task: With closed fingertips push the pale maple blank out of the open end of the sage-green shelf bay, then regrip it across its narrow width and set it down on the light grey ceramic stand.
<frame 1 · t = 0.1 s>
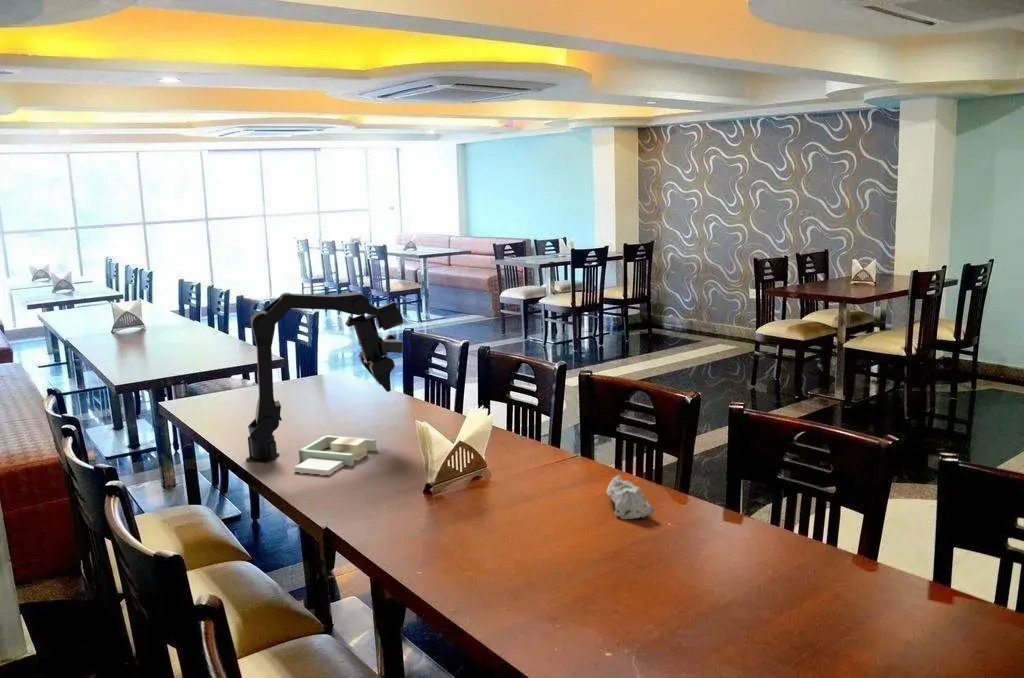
hand: (385, 387, 229), 15 cm above the table, tool pointing down, fingers open, 9 cm apart
rock: (626, 510, 179), on the table
stand: (319, 469, 210), on the table
shelf bay: (339, 455, 220), on the table
blank: (349, 457, 220), on the table
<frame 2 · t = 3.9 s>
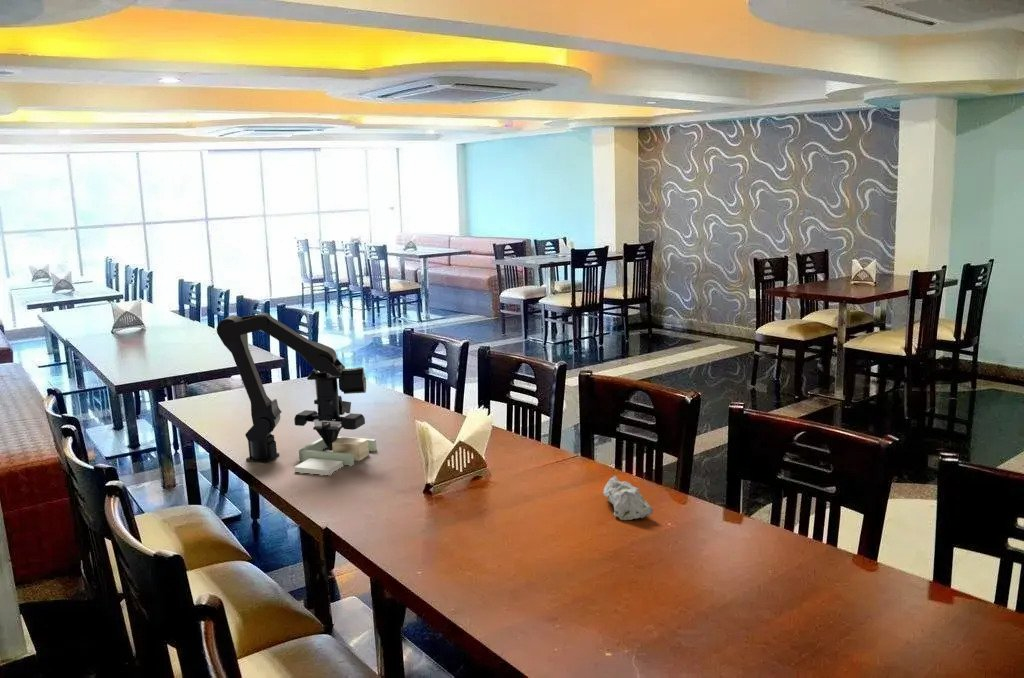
hand: (331, 450, 221), 1 cm above the table, tool pointing down, fingers closed
blank: (351, 457, 219), on the table, touching gripper
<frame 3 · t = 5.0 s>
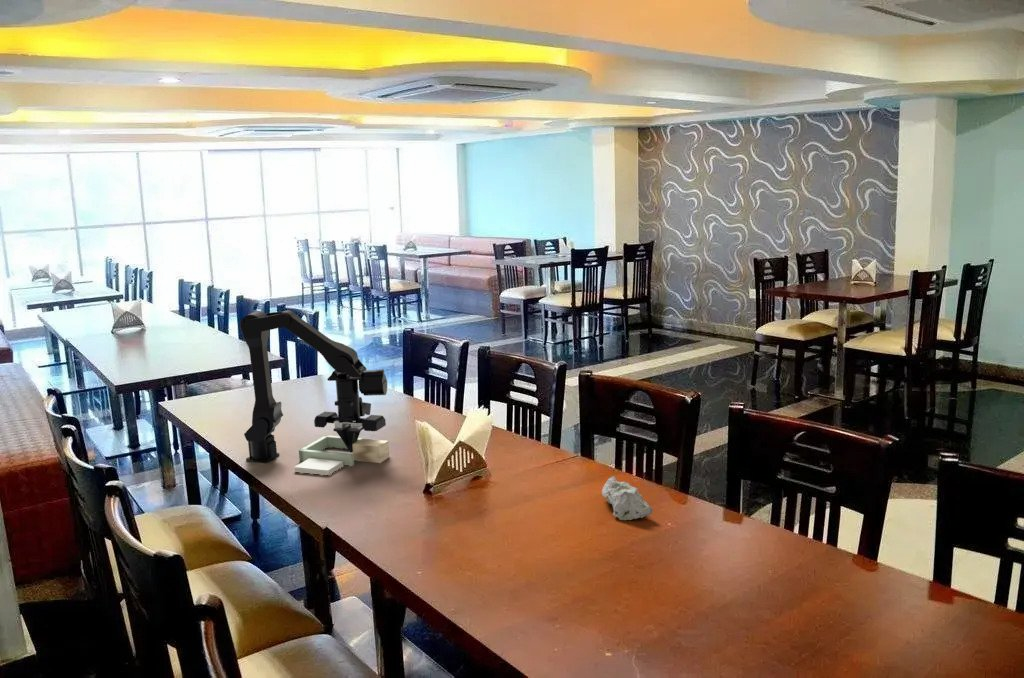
hand: (352, 451, 219), 1 cm above the table, tool pointing down, fingers closed
blank: (371, 458, 217), on the table, touching gripper
everything else where it was.
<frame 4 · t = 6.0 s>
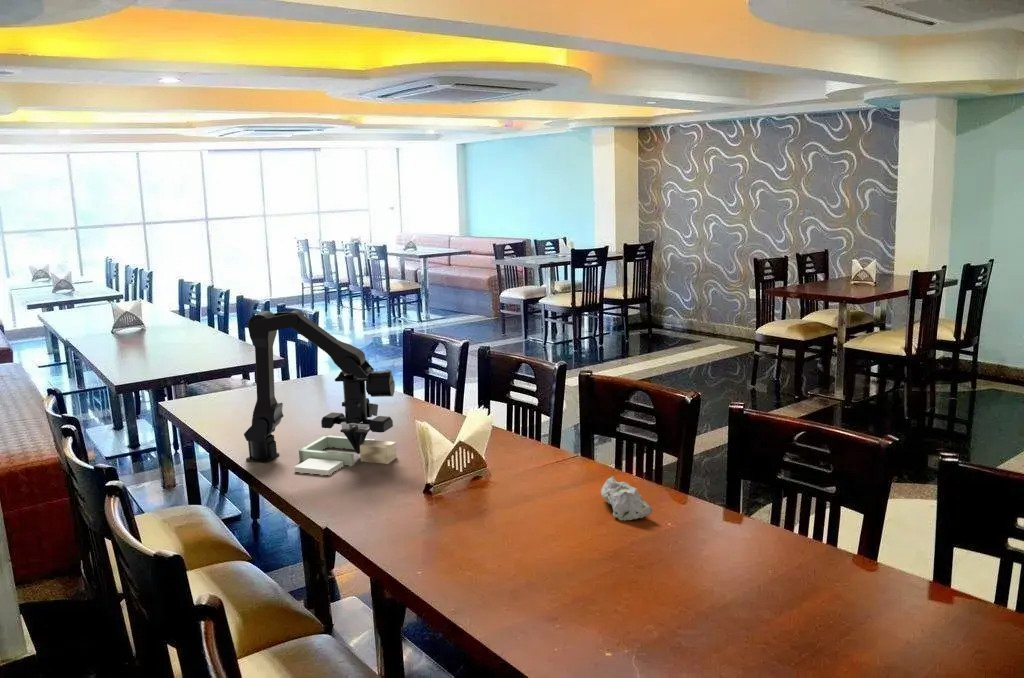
hand: (358, 453, 218), 1 cm above the table, tool pointing down, fingers closed
blank: (378, 460, 217), on the table
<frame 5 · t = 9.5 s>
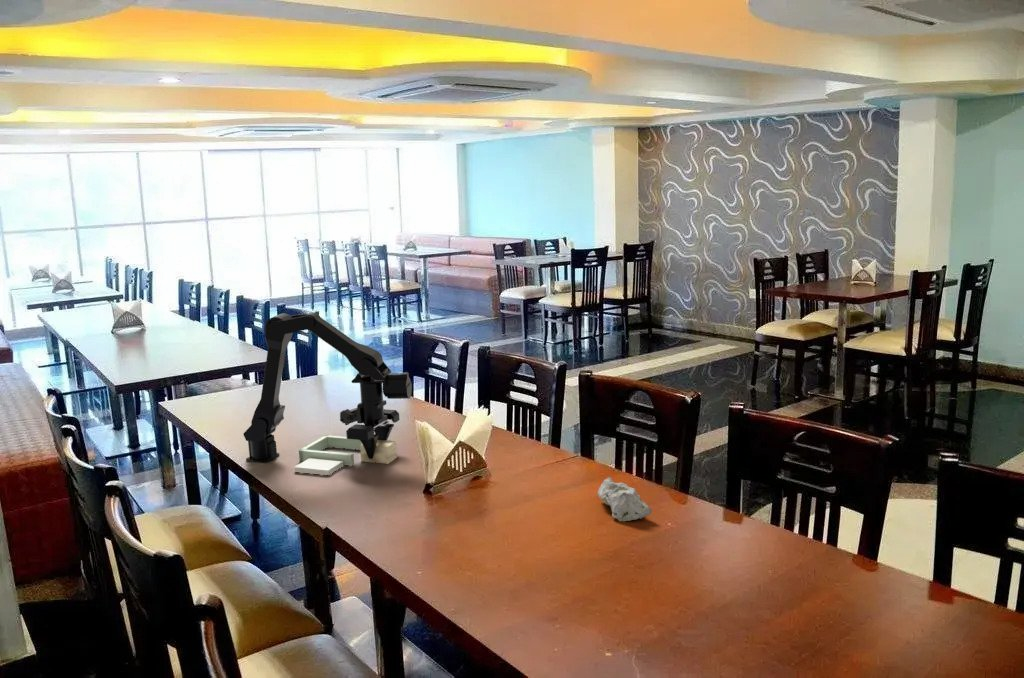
hand: (375, 455, 217), 1 cm above the table, tool pointing down, fingers closed on blank, 5 cm apart
blank: (379, 459, 217), on the table, touching gripper
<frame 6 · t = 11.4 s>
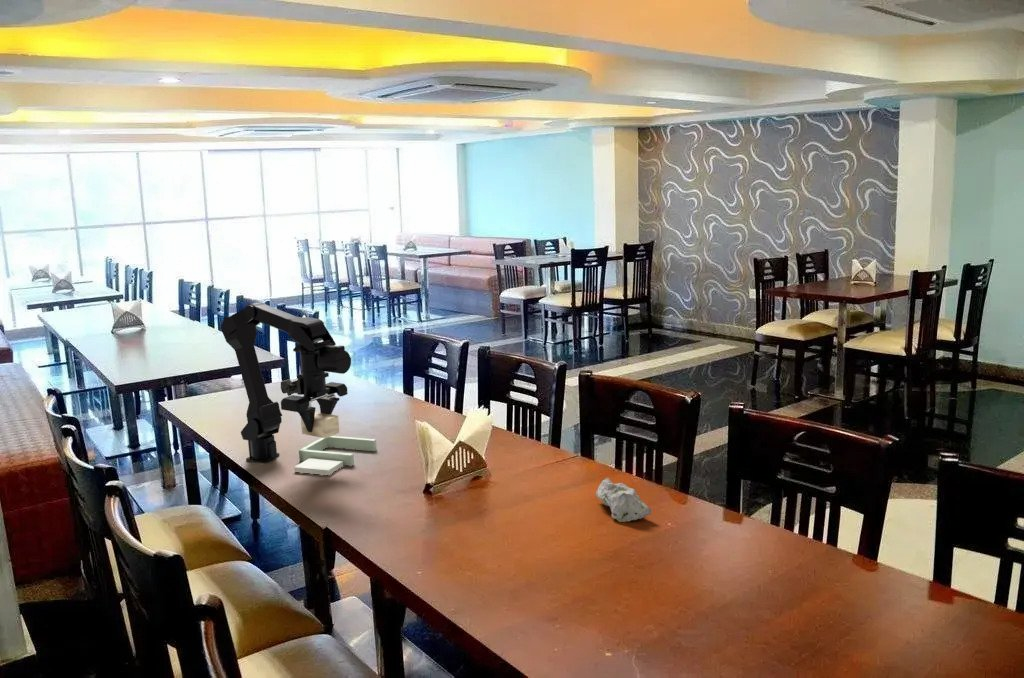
hand: (317, 429, 208), 11 cm above the table, tool pointing down, fingers closed on blank, 5 cm apart
blank: (320, 433, 208), point 10 cm above the table, touching gripper
when the fingers open (3 cm above the table, at t = 13.2 s): blank stays where it is, resting on stand.
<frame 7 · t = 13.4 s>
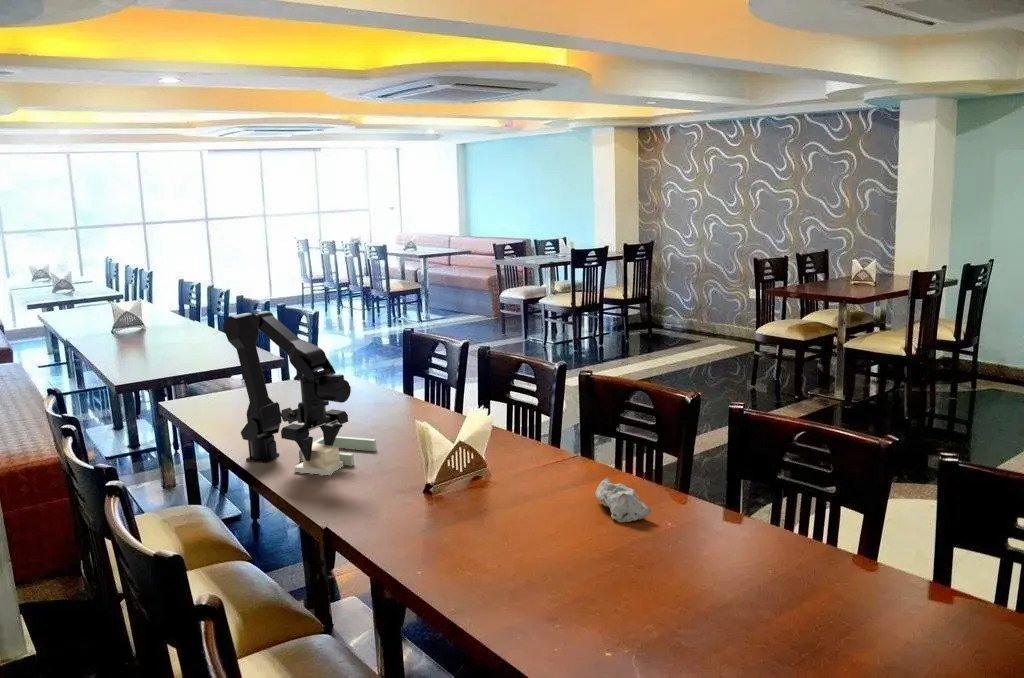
hand: (318, 456, 209), 3 cm above the table, tool pointing down, fingers open, 7 cm apart
blank: (321, 464, 209), point 1 cm above the table, touching stand
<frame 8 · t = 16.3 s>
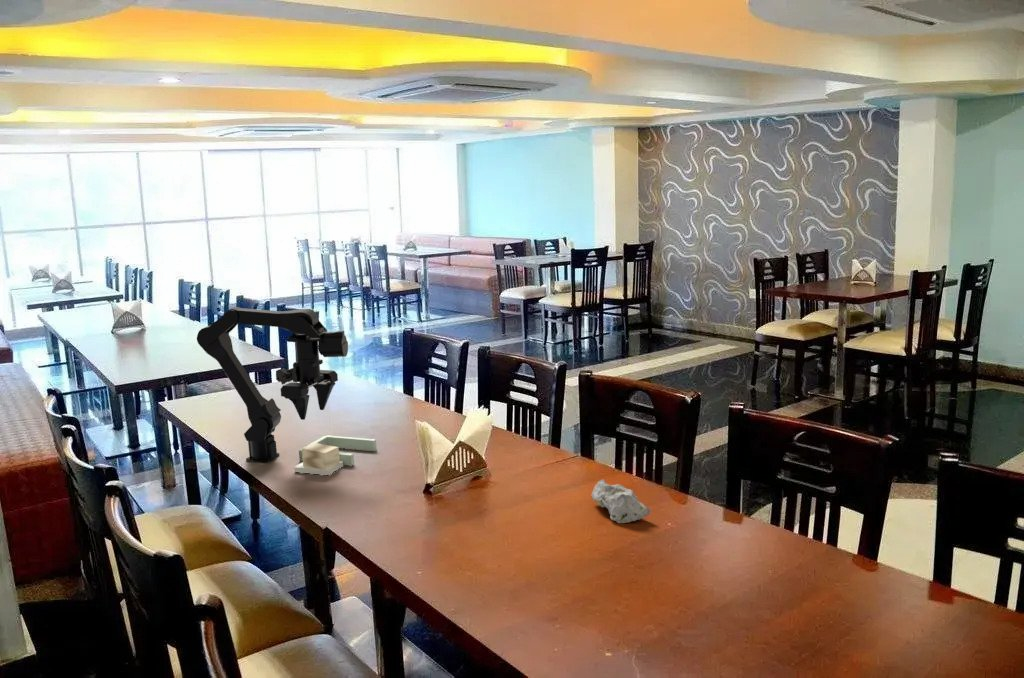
hand: (312, 414, 217), 12 cm above the table, tool pointing down, fingers open, 9 cm apart
at the end: blank inside the target area on the stand (0.9 cm from its centre), point 1.5 cm above the stand's base; blank tilted 0°; the gripper is holding nothing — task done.
